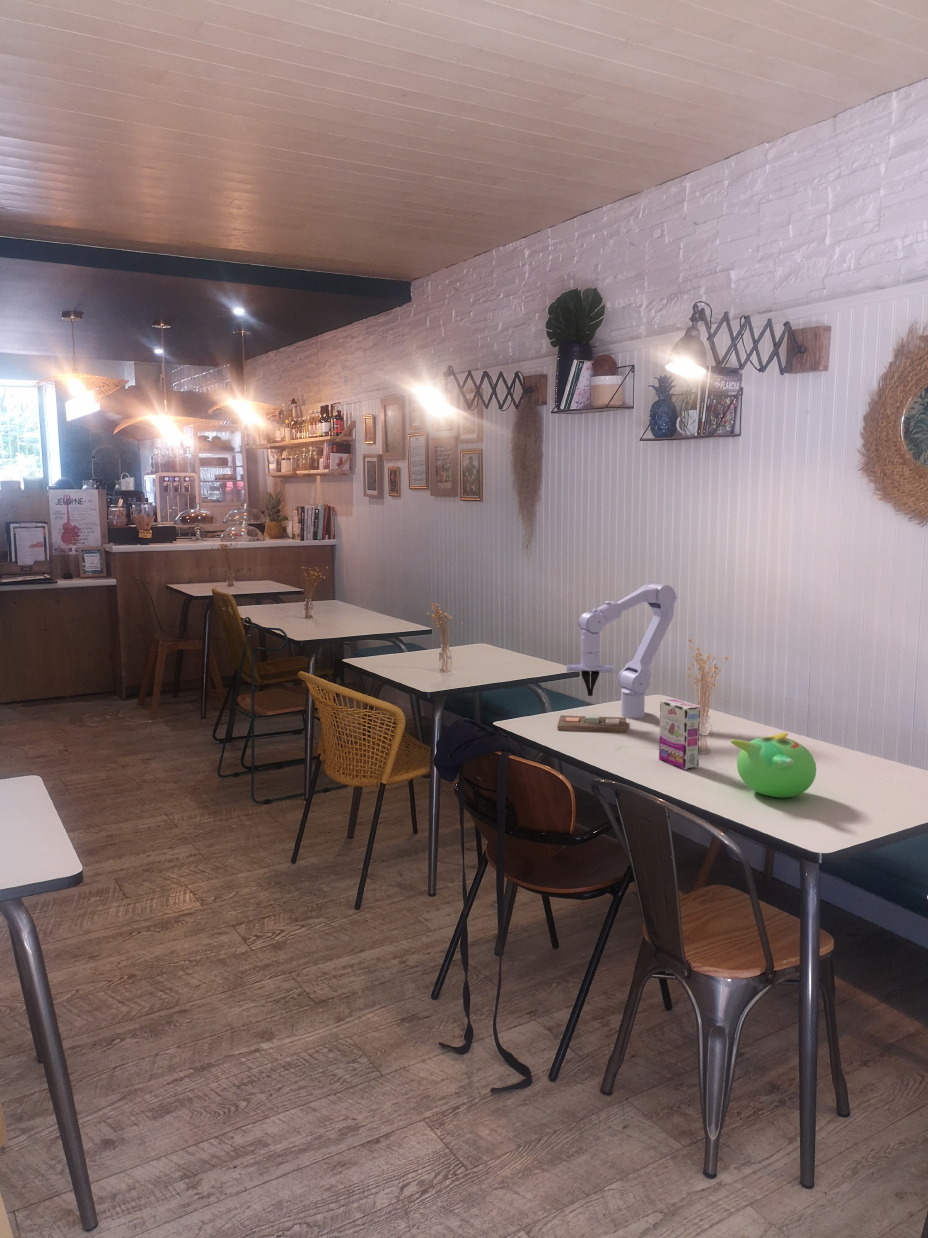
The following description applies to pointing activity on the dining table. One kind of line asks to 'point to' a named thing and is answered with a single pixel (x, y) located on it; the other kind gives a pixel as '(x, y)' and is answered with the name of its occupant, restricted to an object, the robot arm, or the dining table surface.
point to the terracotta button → (572, 719)
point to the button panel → (592, 725)
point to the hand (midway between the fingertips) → (590, 695)
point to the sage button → (592, 719)
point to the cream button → (612, 721)
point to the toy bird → (775, 765)
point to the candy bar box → (679, 734)
